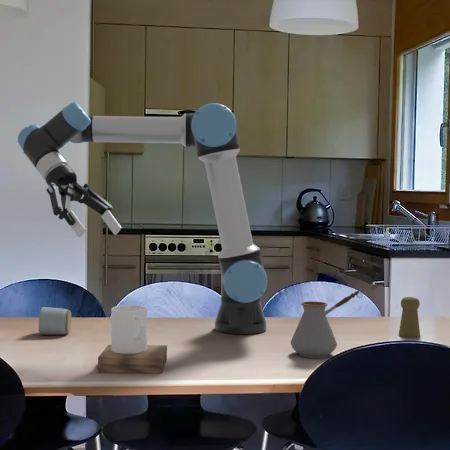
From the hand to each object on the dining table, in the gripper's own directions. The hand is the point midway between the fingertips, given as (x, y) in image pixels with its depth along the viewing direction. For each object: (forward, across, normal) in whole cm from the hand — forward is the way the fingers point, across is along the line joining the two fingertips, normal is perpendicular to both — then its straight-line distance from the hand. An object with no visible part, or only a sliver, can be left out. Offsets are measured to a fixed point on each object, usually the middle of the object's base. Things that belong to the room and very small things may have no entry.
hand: (101, 232), depth 176 cm
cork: (+65, -60, +23) cm, 92 cm away
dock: (+34, +10, -8) cm, 36 cm away
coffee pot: (+57, -28, +15) cm, 65 cm away
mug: (+32, +11, -5) cm, 34 cm away
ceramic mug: (+5, -8, -38) cm, 39 cm away
